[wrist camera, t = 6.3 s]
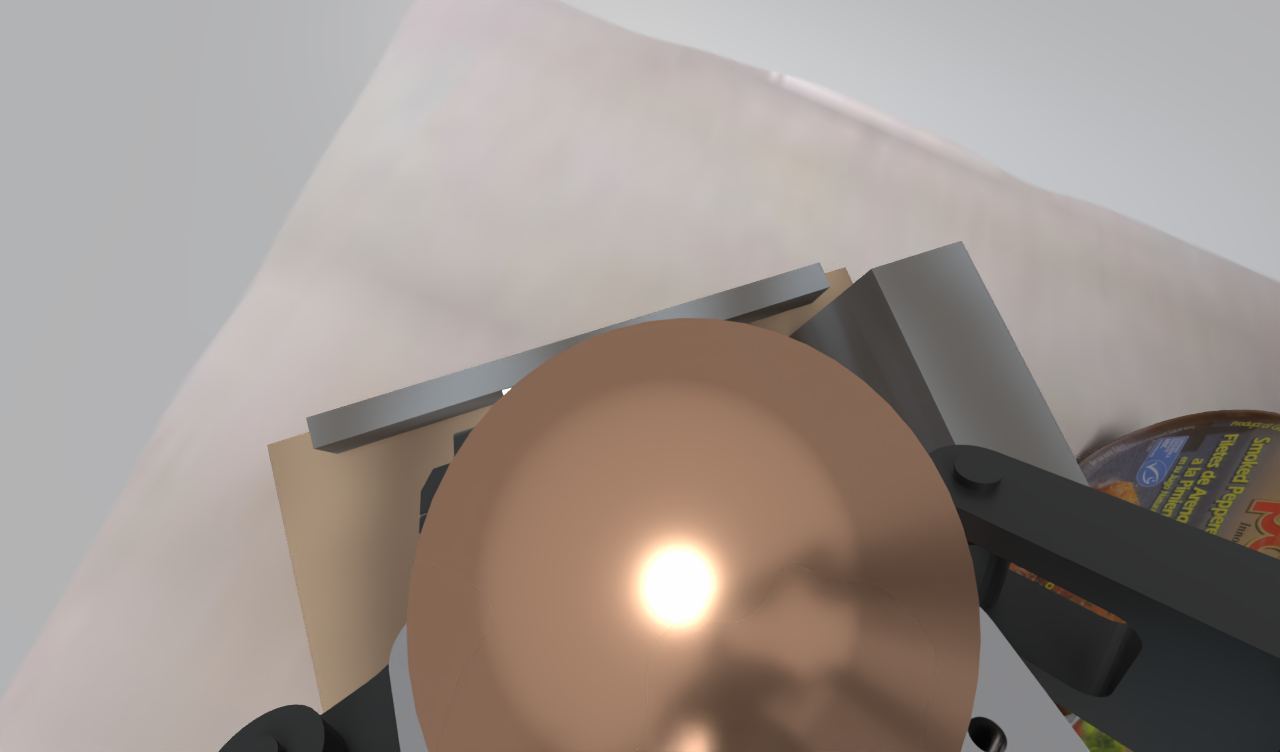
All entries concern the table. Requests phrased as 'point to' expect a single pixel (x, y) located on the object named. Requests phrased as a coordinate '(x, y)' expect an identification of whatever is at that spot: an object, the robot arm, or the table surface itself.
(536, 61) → the table surface
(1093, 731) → the tin
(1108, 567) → the robot arm
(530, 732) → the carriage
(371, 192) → the table surface
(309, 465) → the railed wooden base
